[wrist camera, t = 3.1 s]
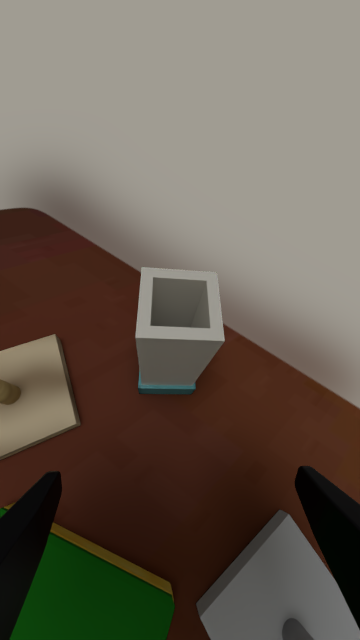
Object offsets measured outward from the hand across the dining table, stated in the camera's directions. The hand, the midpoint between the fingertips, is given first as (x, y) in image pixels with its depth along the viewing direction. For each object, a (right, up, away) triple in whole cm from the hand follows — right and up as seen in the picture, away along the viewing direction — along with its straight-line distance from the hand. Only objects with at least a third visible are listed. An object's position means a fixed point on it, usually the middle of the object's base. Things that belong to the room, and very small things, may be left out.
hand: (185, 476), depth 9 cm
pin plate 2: (+7, -16, +8) cm, 19 cm away
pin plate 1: (-15, -1, +13) cm, 20 cm away
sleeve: (-2, +1, +16) cm, 16 cm away
